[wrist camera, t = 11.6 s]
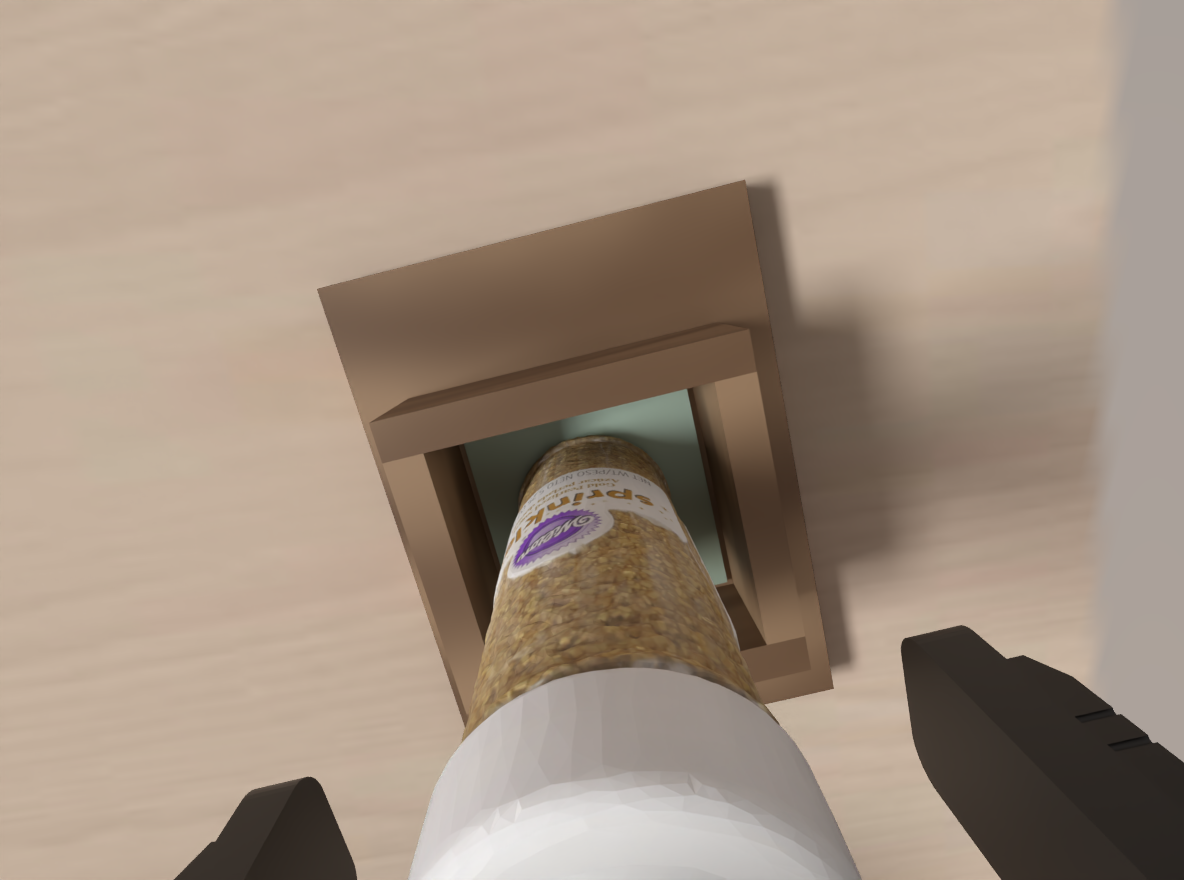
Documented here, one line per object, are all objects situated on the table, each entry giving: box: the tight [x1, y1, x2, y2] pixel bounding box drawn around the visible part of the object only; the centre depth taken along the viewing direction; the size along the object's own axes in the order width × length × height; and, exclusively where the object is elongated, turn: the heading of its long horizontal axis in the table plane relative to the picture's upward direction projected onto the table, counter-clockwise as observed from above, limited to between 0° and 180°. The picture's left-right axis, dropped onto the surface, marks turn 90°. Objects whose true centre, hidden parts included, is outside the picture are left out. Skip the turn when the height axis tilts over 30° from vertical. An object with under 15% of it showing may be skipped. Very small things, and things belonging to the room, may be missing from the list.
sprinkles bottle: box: [408, 435, 862, 880], centre depth 12 cm, size 5×5×14 cm
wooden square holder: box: [317, 180, 834, 728], centre depth 17 cm, size 16×12×4 cm
